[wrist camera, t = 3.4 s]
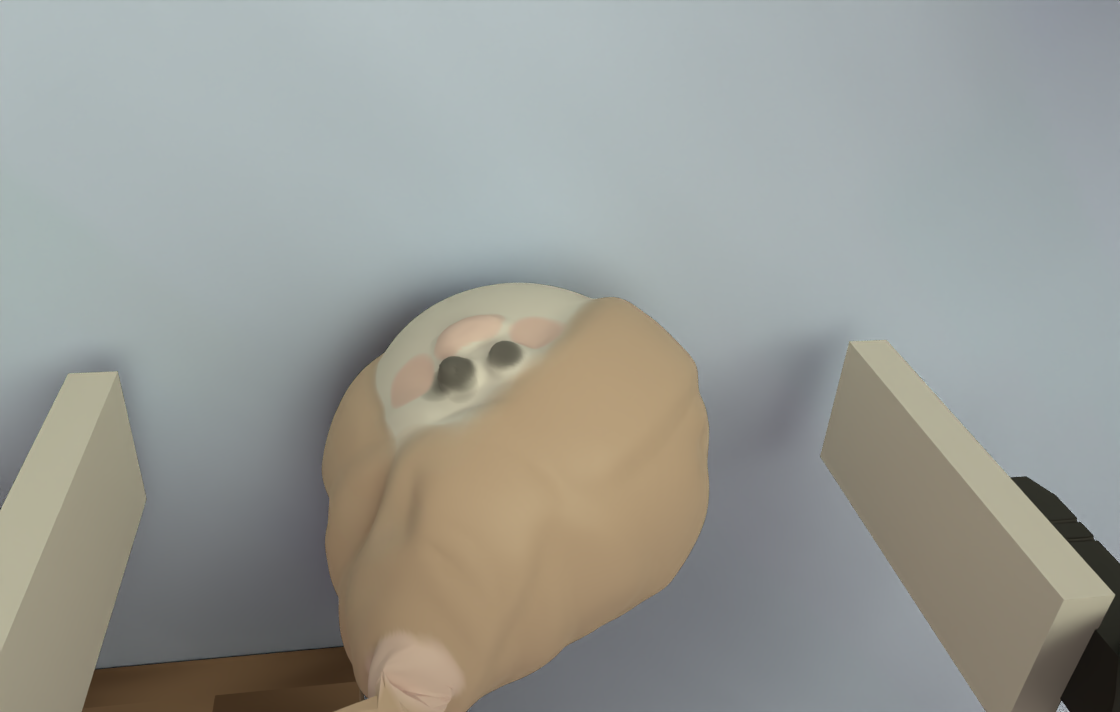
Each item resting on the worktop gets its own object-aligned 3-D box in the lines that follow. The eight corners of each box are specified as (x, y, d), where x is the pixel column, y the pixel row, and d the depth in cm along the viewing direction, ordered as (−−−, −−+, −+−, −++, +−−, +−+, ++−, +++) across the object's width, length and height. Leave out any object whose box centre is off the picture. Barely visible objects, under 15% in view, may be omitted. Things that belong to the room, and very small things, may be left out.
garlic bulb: (329, 211, 16) (299, 536, 9) (689, 232, 17) (890, 529, 11) (326, 512, 19) (303, 910, 13) (627, 509, 21) (750, 867, 14)
